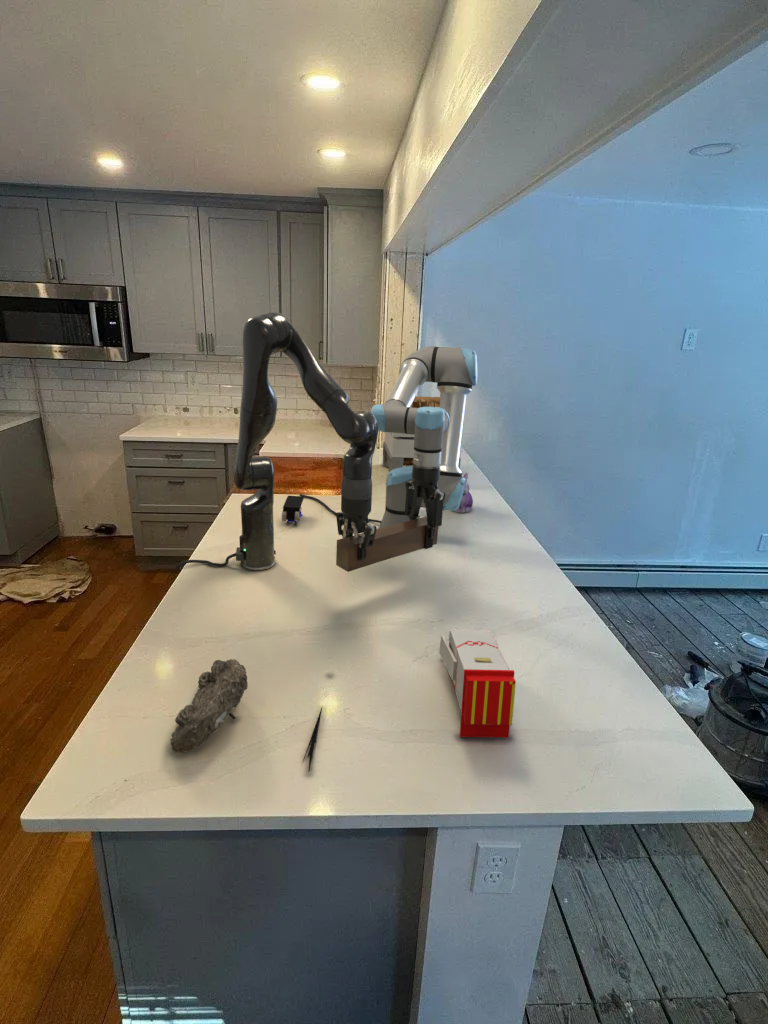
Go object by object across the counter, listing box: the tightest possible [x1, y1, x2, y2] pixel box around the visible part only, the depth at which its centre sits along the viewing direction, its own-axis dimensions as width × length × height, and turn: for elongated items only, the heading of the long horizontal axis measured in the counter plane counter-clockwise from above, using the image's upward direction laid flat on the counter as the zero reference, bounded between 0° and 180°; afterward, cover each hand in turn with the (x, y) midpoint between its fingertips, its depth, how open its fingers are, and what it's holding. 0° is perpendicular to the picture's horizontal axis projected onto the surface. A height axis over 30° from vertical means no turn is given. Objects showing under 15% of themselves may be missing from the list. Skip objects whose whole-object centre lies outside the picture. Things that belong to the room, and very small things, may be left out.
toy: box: [438, 628, 517, 738], centre depth 117 cm, size 12×13×30 cm
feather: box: [301, 673, 332, 771], centre depth 108 cm, size 2×28×2 cm
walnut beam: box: [335, 515, 439, 573], centre depth 153 cm, size 5×32×7 cm, turn 131°
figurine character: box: [281, 495, 305, 526], centre depth 206 cm, size 7×8×15 cm
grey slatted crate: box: [381, 392, 464, 473], centre depth 268 cm, size 34×33×41 cm
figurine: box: [454, 472, 474, 514], centre depth 225 cm, size 9×10×15 cm
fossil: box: [170, 658, 249, 753], centre depth 106 cm, size 22×10×15 cm
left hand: (354, 556), depth 145 cm, fingers closed on walnut beam, 5 cm apart
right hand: (421, 544), depth 161 cm, fingers closed on walnut beam, 5 cm apart
